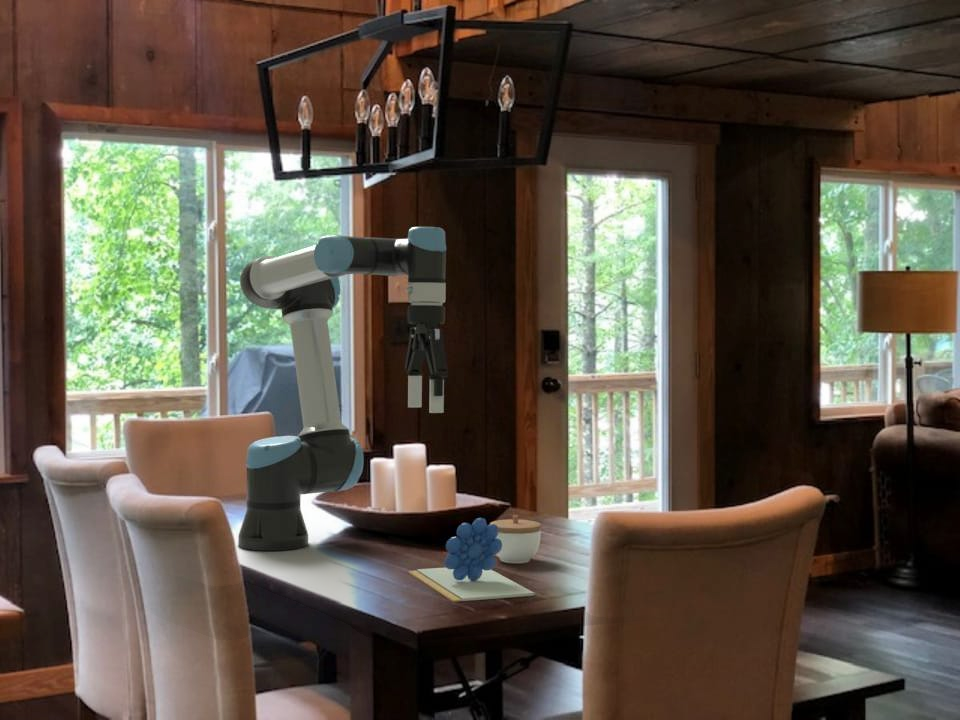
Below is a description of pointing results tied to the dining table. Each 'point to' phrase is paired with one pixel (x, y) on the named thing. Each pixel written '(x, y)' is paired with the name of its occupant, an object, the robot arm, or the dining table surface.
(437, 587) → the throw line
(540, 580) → the dining table surface
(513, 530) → the lidded jar
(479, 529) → the grapes
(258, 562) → the dining table surface
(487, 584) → the mat
